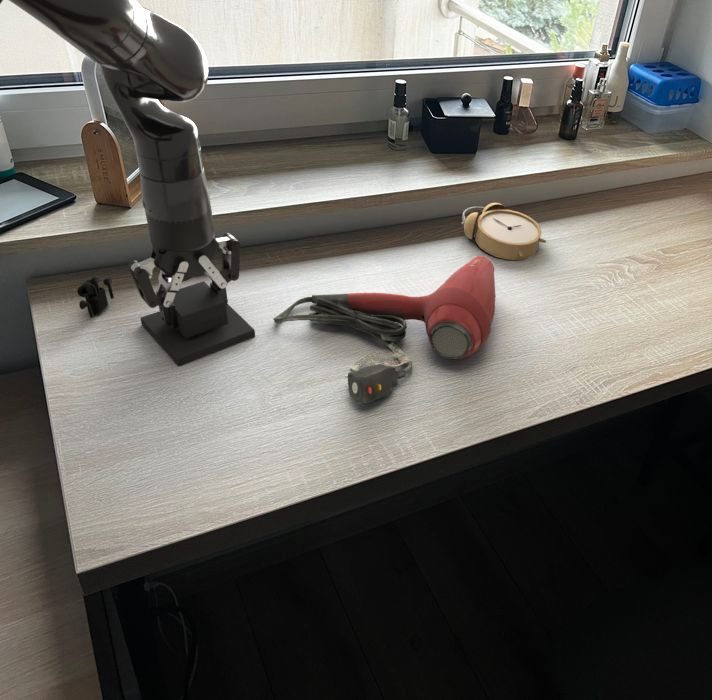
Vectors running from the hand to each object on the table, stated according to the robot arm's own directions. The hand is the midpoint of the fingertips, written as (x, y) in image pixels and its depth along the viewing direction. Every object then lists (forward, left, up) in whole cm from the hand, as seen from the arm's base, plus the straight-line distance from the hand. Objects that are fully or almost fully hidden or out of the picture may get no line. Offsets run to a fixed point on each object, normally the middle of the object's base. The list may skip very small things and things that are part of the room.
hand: (196, 316), depth 97 cm
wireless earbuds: (-9, +12, -3) cm, 15 cm away
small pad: (0, 0, -1) cm, 1 cm away
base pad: (0, 0, -2) cm, 2 cm away
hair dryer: (+24, -16, -3) cm, 29 cm away
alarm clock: (+53, -5, -3) cm, 53 cm away
